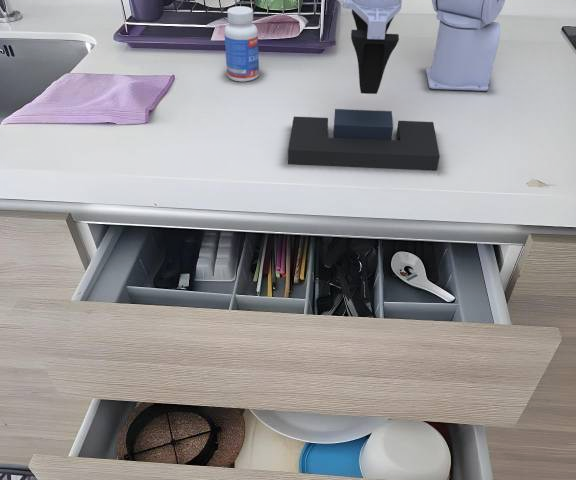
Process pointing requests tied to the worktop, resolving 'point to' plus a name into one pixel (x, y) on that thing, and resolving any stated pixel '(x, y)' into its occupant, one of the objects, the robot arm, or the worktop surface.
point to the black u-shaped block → (364, 146)
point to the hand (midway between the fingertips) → (368, 80)
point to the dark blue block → (363, 124)
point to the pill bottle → (241, 45)
